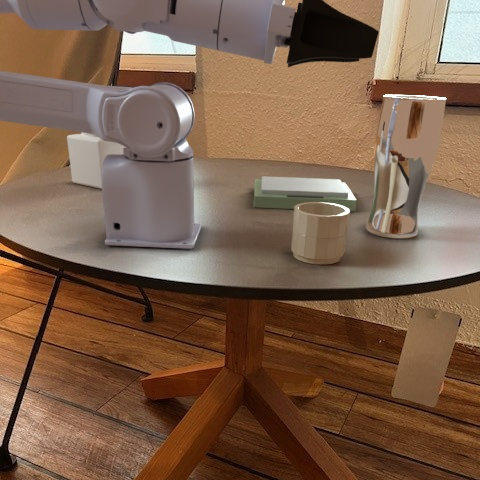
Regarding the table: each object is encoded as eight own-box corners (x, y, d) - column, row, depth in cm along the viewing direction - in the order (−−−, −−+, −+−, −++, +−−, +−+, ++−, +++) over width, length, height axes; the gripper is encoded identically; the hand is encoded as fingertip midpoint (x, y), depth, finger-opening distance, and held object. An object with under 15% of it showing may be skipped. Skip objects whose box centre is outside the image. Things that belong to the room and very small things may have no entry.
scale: (253, 207, 69) (254, 191, 68) (254, 189, 79) (255, 175, 78) (355, 211, 69) (357, 195, 68) (344, 193, 79) (345, 178, 78)
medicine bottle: (136, 182, 81) (131, 101, 75) (103, 190, 76) (95, 103, 70) (105, 176, 84) (98, 98, 79) (71, 183, 79) (61, 100, 74)
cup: (291, 264, 50) (295, 215, 48) (289, 246, 55) (292, 200, 53) (347, 266, 50) (353, 217, 48) (339, 248, 55) (345, 203, 53)
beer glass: (351, 225, 63) (369, 94, 56) (398, 221, 65) (421, 95, 58) (382, 242, 57) (407, 99, 50) (433, 237, 59) (463, 99, 53)
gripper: (224, -56, 38) (398, -17, 38) (238, -20, 51) (367, 8, 51) (208, 48, 41) (370, 83, 41) (225, 56, 54) (348, 83, 54)
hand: (367, 47), depth 47 cm, fingers open, 7 cm apart
